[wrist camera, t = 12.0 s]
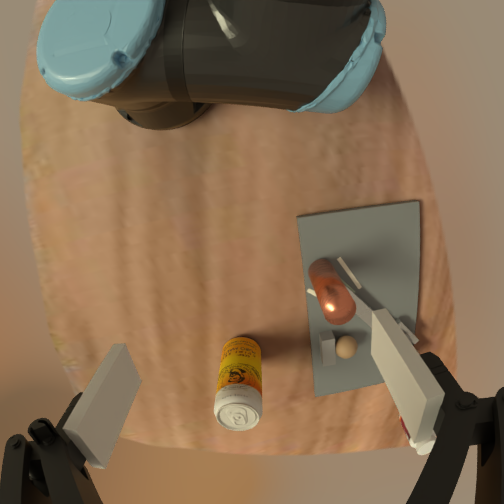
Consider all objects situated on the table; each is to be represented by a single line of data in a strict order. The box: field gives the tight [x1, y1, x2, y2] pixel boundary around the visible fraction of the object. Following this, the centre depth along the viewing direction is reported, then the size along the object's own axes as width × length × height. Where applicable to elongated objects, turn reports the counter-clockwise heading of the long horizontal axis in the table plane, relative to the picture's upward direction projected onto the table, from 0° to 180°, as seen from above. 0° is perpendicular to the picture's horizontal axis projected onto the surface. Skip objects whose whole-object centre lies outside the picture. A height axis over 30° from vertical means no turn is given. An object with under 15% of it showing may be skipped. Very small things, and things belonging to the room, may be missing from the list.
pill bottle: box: [399, 415, 436, 455], centre depth 50 cm, size 6×6×11 cm
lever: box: [308, 259, 420, 355], centre depth 40 cm, size 27×6×12 cm, turn 49°
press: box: [297, 200, 420, 397], centre depth 45 cm, size 32×18×5 cm, turn 9°
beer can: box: [214, 337, 262, 431], centre depth 42 cm, size 6×6×15 cm
